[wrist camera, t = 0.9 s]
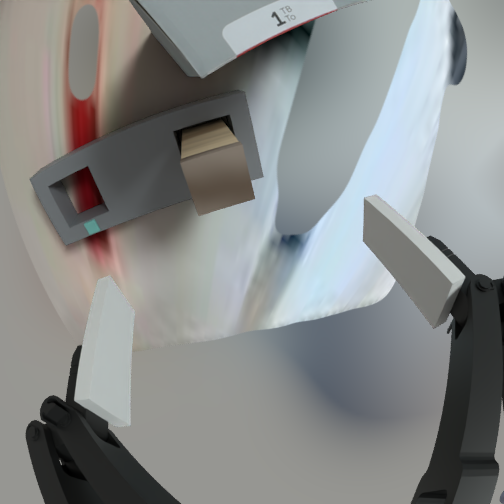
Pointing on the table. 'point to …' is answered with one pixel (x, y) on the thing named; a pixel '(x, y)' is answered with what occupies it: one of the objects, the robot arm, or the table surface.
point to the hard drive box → (225, 26)
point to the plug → (214, 167)
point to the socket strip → (138, 166)
